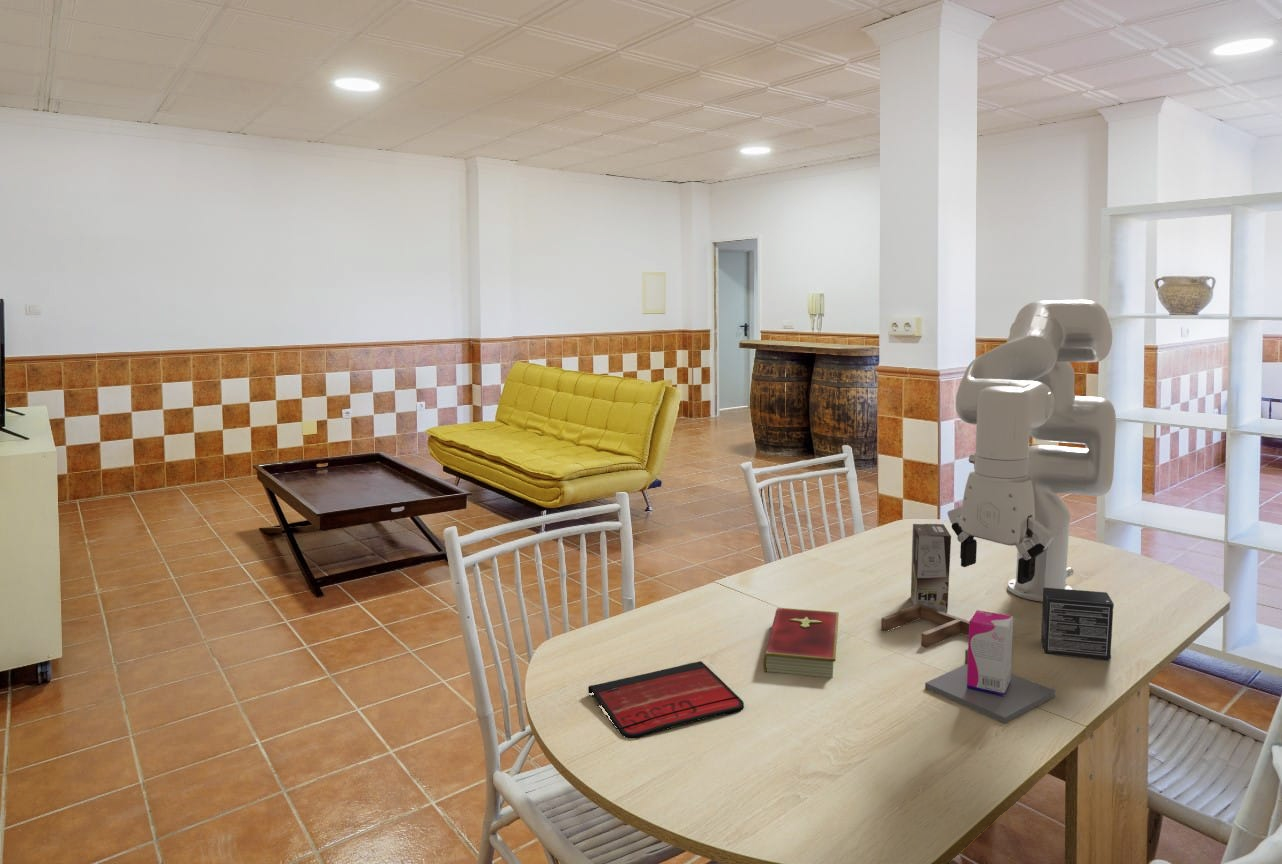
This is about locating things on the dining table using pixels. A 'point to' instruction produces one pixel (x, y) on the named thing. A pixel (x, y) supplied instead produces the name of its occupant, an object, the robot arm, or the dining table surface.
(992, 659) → the supplement box
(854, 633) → the dining table surface
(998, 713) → the slate board
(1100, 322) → the robot arm
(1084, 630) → the small box
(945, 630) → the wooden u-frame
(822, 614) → the hardcover book
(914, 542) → the coffee box
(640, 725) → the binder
